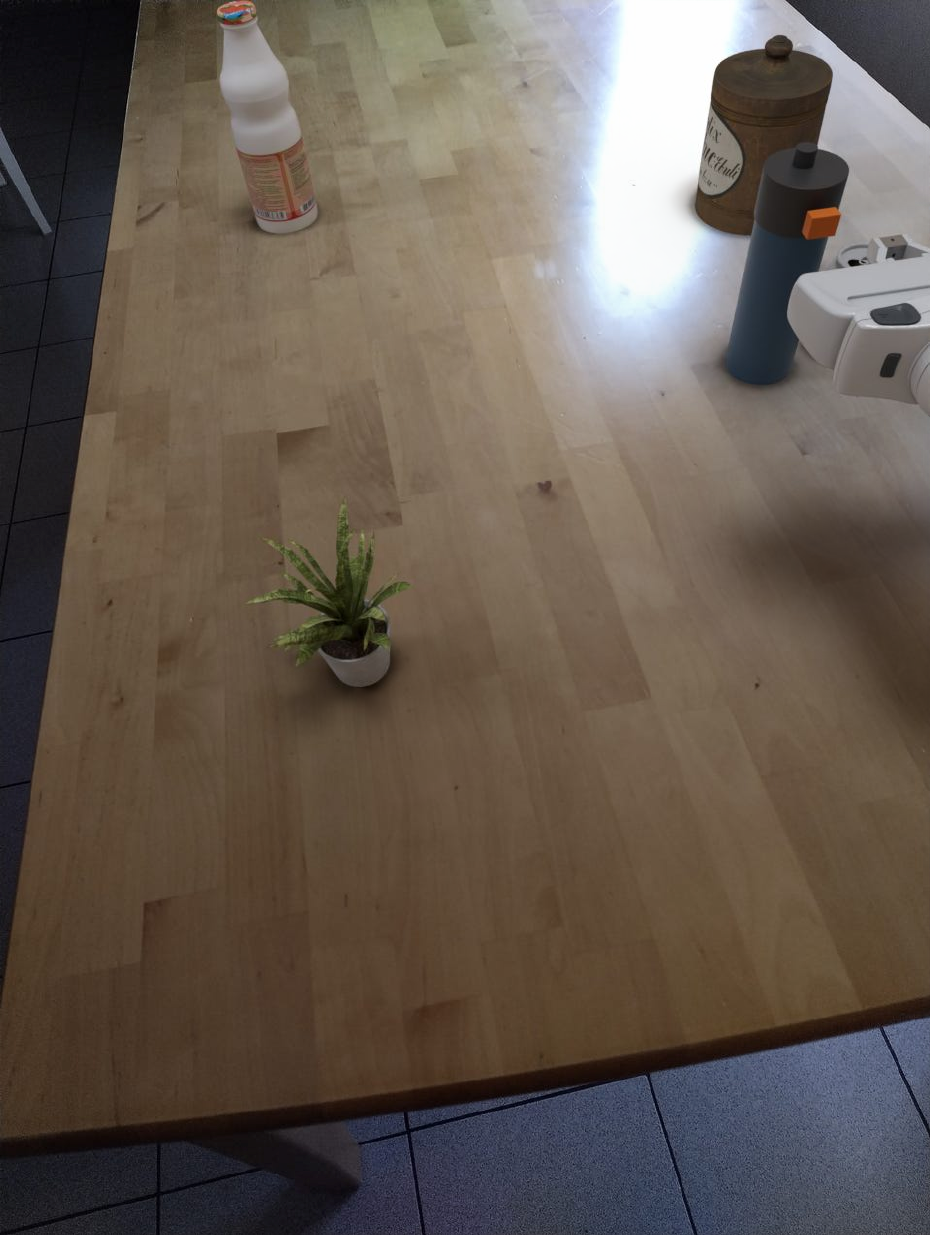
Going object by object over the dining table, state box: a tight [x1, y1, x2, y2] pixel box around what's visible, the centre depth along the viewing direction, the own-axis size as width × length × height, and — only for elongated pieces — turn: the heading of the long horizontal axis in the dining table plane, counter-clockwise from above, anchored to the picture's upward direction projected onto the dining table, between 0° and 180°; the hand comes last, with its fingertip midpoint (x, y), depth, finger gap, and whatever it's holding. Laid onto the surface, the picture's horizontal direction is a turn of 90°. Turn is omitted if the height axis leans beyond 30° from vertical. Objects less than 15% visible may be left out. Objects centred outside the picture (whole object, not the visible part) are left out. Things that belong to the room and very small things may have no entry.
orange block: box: [802, 207, 842, 240], centre depth 83 cm, size 1×3×2 cm, turn 97°
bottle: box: [724, 142, 850, 386], centre depth 94 cm, size 8×8×26 cm
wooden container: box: [694, 34, 834, 236], centre depth 115 cm, size 15×15×22 cm
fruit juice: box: [216, 0, 319, 234], centre depth 120 cm, size 9×9×28 cm
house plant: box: [242, 496, 417, 688], centre depth 77 cm, size 14×14×16 cm
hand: (885, 243), depth 73 cm, fingers closed
